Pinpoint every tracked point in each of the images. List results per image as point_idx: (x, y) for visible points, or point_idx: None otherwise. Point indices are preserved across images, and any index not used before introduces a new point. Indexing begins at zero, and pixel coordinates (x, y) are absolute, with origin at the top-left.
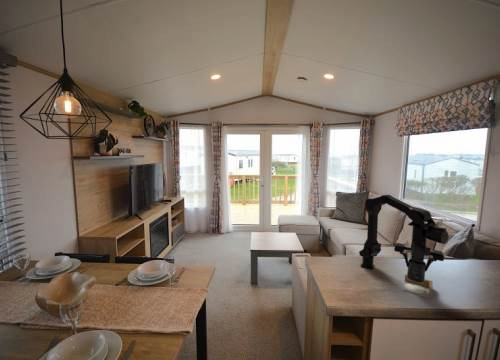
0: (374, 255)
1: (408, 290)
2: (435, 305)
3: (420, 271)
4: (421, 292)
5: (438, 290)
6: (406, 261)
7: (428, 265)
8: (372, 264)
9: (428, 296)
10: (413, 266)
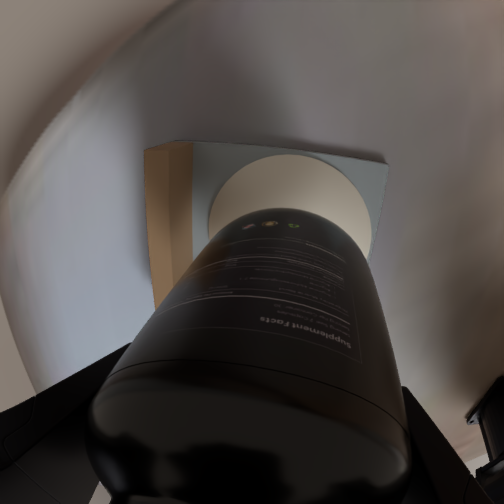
0: (493, 465)
1: (347, 168)
2: (163, 48)
3: (199, 283)
4: (244, 179)
5: (146, 295)
6: (444, 462)
7: (42, 403)
8: (497, 409)
9: (196, 143)
10: (342, 355)
